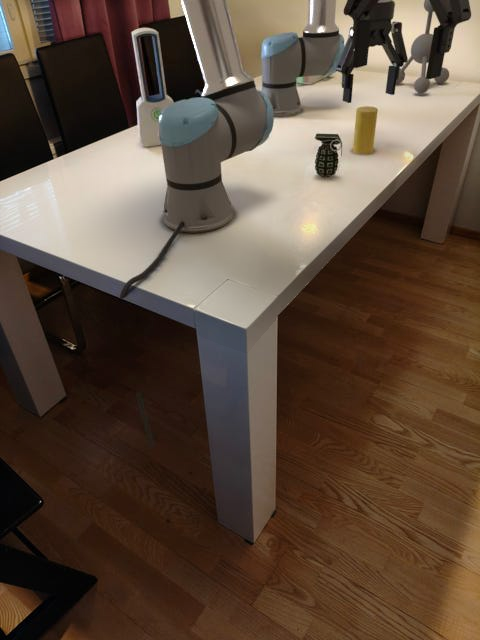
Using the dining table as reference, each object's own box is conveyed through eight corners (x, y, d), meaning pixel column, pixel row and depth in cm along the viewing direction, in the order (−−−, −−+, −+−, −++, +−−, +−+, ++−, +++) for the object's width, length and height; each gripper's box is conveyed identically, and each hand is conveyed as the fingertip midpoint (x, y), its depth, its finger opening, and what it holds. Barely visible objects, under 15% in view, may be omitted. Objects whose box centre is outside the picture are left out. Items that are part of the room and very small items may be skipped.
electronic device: (141, 147, 146) (122, 33, 128) (139, 140, 152) (119, 29, 134) (182, 142, 149) (168, 28, 130) (178, 135, 154) (164, 25, 136)
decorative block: (301, 54, 217) (341, 57, 207) (300, 70, 221) (340, 74, 211) (269, 65, 201) (312, 69, 191) (269, 82, 205) (311, 87, 195)
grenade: (312, 179, 121) (313, 138, 114) (314, 171, 125) (316, 131, 119) (338, 181, 119) (342, 139, 113) (340, 172, 124) (344, 132, 117)
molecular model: (468, 88, 182) (489, -8, 163) (419, 97, 176) (435, -2, 158) (427, 77, 199) (442, -12, 181) (381, 84, 193) (392, -7, 175)
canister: (365, 155, 132) (369, 113, 126) (348, 151, 136) (352, 109, 129) (376, 150, 135) (382, 108, 128) (360, 146, 138) (364, 105, 132)
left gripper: (528, -118, 58) (482, 77, 71) (360, -99, 73) (347, 58, 86) (496, -119, 54) (454, 87, 67) (326, -99, 69) (319, 66, 82)
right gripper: (343, 6, 107) (336, 108, 120) (431, -4, 115) (416, 93, 128) (324, 4, 113) (320, 102, 126) (410, -5, 120) (397, 88, 133)
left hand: (394, 71), depth 77 cm, fingers open, 13 cm apart
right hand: (368, 97), depth 127 cm, fingers open, 13 cm apart
